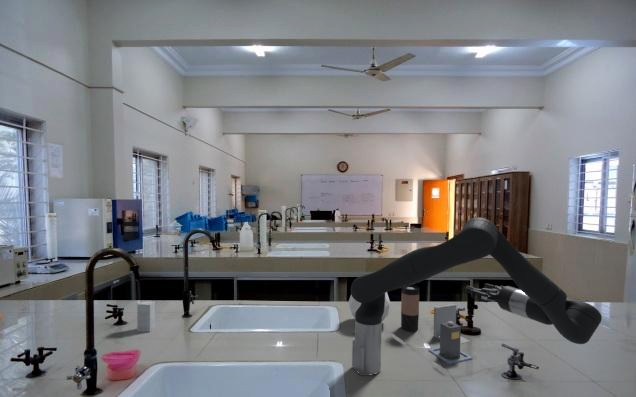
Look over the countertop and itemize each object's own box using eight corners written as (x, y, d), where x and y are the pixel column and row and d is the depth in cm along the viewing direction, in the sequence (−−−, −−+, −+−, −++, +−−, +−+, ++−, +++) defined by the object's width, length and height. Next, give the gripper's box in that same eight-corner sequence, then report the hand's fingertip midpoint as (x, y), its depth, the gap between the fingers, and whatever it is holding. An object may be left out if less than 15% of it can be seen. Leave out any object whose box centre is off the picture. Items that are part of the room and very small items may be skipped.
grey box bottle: (449, 360, 124) (450, 325, 124) (439, 354, 129) (440, 320, 129) (460, 358, 126) (460, 323, 126) (450, 352, 131) (450, 318, 131)
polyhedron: (375, 341, 156) (380, 317, 144) (339, 317, 166) (341, 293, 154) (394, 312, 168) (400, 287, 156) (360, 292, 178) (363, 267, 165)
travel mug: (414, 336, 146) (415, 290, 146) (397, 332, 151) (398, 287, 150) (420, 331, 152) (421, 287, 152) (404, 326, 157) (405, 283, 157)
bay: (449, 349, 135) (450, 314, 135) (433, 339, 144) (434, 306, 143) (470, 344, 139) (471, 311, 139) (453, 335, 148) (454, 303, 148)
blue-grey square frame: (449, 368, 121) (449, 362, 120) (428, 354, 131) (428, 349, 131) (472, 362, 125) (472, 357, 125) (450, 349, 135) (450, 344, 135)
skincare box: (155, 328, 151) (155, 301, 151) (149, 332, 147) (150, 304, 147) (142, 327, 152) (142, 301, 152) (136, 331, 148) (136, 304, 147)
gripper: (535, 287, 104) (490, 275, 119) (502, 292, 99) (459, 278, 114) (534, 311, 105) (490, 296, 120) (501, 317, 99) (459, 300, 114)
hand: (475, 287), depth 117 cm, fingers open, 8 cm apart
